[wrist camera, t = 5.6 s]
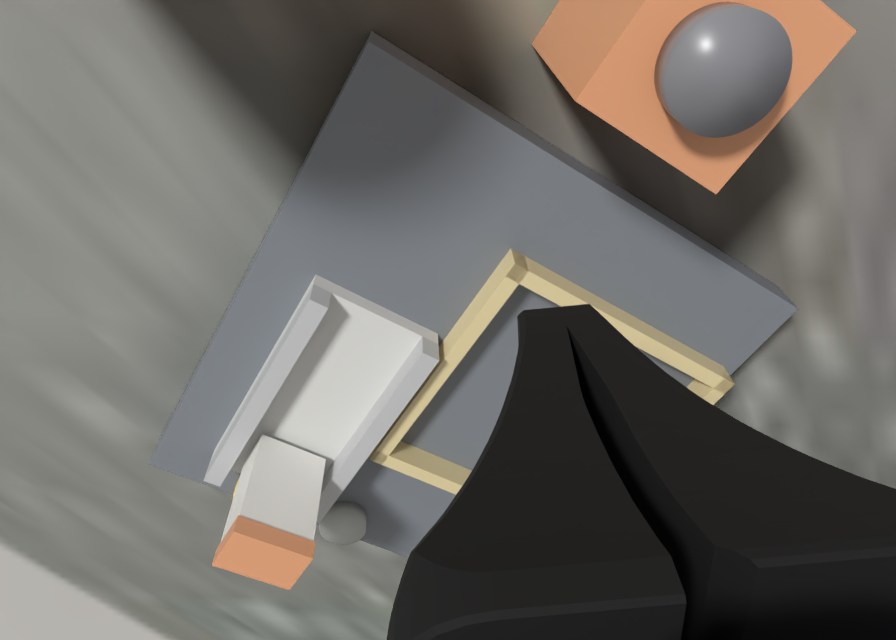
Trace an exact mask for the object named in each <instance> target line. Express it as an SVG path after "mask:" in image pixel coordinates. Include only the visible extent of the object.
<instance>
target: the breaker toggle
mask: <svg viewBox="0 0 896 640" xmlns="http://www.w3.org/2000/svg"><path fill="white" fill-rule="evenodd" d="M325 462H326V459H324V458H322V457H319V456H317V455H314V454H311V453H309V452H306V451H304V450H301V449H299V448H296V447H294V446H291V445H289V444H286V443H284V442H281V441H278V440H276V439H273V438H271V437H268V436H266V435H263V434H262V435H261V436H260V438H259V440H258V441H257V443H256V445H255V446H254V448H253V449H252V451H251V453H250V454H249V456H248V457H247V459H246V461H245V462H244V464H243V468H242V471H241V474H240V478H239V481H238V485H237V488H236V491H235V495H234V498H233V502H232V505H231V509H230V512H229V515H228V519H227V522H226V526H225V529H224V532H223V536H222V539H221V543H220V544H219V546H218V547H217V549H216V553H215V556H214V559H213V563H212V566H216V567H219V568H222V569H225V570H228V571H231V572H234V573H237V574H241V575H244V576H247V577H250V578H253V579H256V580H259V581H262V582H266V583H269V584H272V585H275V586H278V587H281V588H284V589H287V590H290V588H291V587H292V586H293V584H294V583H295V582H296V580H297V579H298V578H299V576H300V575H301V574H302V573H303V571H304V570H305V569H306V567H307V566H308V565H309V563H310V562H311V561H312V559H313V556H314V549H315V542H313V541H314V535H315V528H316V521H317V515H318V508H319V502H320V495H321V488H322V482H323V475H324V468H325Z"/></svg>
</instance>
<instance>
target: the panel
mask: <svg viewBox="0 0 896 640" xmlns="http://www.w3.org/2000/svg"><path fill="white" fill-rule="evenodd" d="M582 304H590V305H591V306H592V307H593V308H595V309H596V310H597V311H598V312H599V313H600V314H601V315H602V316H603V317H604V318H605V319H606V320H607V321H608V322H609V323H610V324H611V325H613V326H614V327H615V328H616V329H617V330H618V331H619V332H620V333H621V334H622V335H623V336H624V337H625V338H626V339H628V340H629V341H630V342H631V343H632V344H633V345H634V346H635V347H636V348H638V349H639V350H640V351H641V352H642V353H643V354H645V355H646V356H647V357H648V358H649V359H651V360H652V361H653V362H654V363H655V364H656V365H658V366H659V367H660V368H661V369H663V370H664V371H665V372H666V373H668V374H669V375H670V376H672V377H673V378H674V379H676V380H677V381H678V382H680V383H681V384H683V385H684V386H685V387H687V388H688V389H689V390H691V391H692V392H694V393H695V394H697V395H698V396H700V397H701V398H703V399H704V400H706V401H707V402H709V403H710V404H712V405H714V404H715V403H716V402H717V401H718V400H719V399H720V398H721V397H722V396H723V395H724V394H725V393H726V392H727V391H728V390H729V389H730V388H731V387H733V386H734V385H735V383H734V382H733V380H732V379H731V377H730V375H731V374H732V373H733V372H734V371H735V370H736V369H737V368H738V367H739V366H740V365H741V364H742V363H743V362H744V361H745V360H747V359H748V358H749V357H750V356H751V355H752V354H753V353H754V352H755V351H756V350H757V349H758V348H759V347H760V346H761V345H762V344H763V343H764V342H765V341H766V340H767V339H768V338H769V337H770V336H771V335H772V334H773V333H774V332H775V331H776V330H777V329H778V328H779V327H780V326H781V325H782V324H783V323H784V322H785V321H786V320H787V319H788V318H789V317H790V316H791V315H792V314H793V313H795V312H796V311H797V310H798V308H797V307H796V306H795V305H794V304H793V302H792V301H791V300H790V299H789V298H788V297H787V296H786V295H785V294H784V293H783V292H782V290H781V289H780V288H779V287H778V286H776V285H775V284H773V283H772V282H770V281H769V280H767V279H765V278H764V277H762V276H761V275H759V274H757V273H756V272H754V271H753V270H751V269H749V268H748V267H746V266H745V265H743V264H742V263H740V262H738V261H737V260H735V259H734V258H732V257H730V256H729V255H727V254H726V253H724V252H722V251H721V250H719V249H718V248H716V247H714V246H713V245H711V244H710V243H708V242H707V241H705V240H703V239H702V238H700V237H699V236H697V235H695V234H694V233H692V232H691V231H689V230H687V229H686V228H684V227H683V226H681V225H679V224H678V223H676V222H675V221H673V220H672V219H670V218H668V217H667V216H665V215H664V214H662V213H660V212H659V211H657V210H656V209H654V208H652V207H651V206H649V205H648V204H646V203H645V202H643V201H641V200H640V199H638V198H637V197H635V196H633V195H632V194H630V193H629V192H627V191H625V190H624V189H622V188H621V187H619V186H617V185H616V184H614V183H613V182H611V181H610V180H608V179H606V178H605V177H603V176H602V175H600V174H598V173H597V172H595V171H594V170H592V169H590V168H589V167H587V166H586V165H584V164H582V163H581V162H579V161H578V160H576V159H575V158H573V157H571V156H570V155H568V154H567V153H565V152H563V151H562V150H560V149H559V148H557V147H555V146H554V145H552V144H551V143H549V142H548V141H546V140H544V139H543V138H541V137H540V136H538V135H536V134H535V133H533V132H532V131H530V130H528V129H527V128H525V127H524V126H522V125H520V124H519V123H517V122H516V121H514V120H513V119H511V118H509V117H508V116H506V115H505V114H503V113H501V112H500V111H498V110H497V109H495V108H493V107H492V106H490V105H489V104H487V103H485V102H484V101H482V100H481V99H479V98H478V97H476V96H474V95H473V94H471V93H470V92H468V91H466V90H465V89H463V88H462V87H460V86H458V85H457V84H455V83H454V82H452V81H451V80H449V79H447V78H446V77H444V76H443V75H441V74H439V73H438V72H436V71H435V70H433V69H431V68H430V67H428V66H427V65H425V64H423V63H422V62H420V61H419V60H417V59H416V58H414V57H412V56H411V55H409V54H408V53H406V52H404V51H403V50H401V49H400V48H398V47H396V46H395V45H393V44H392V43H390V42H388V41H387V40H385V39H384V38H382V37H381V36H379V35H377V34H376V33H374V32H373V31H371V32H370V34H369V36H368V38H367V40H366V42H365V44H364V46H363V48H362V50H361V52H360V54H359V56H358V58H357V59H356V61H355V63H354V65H353V67H352V69H351V71H350V73H349V75H348V77H347V79H346V81H345V83H344V85H343V86H342V88H341V90H340V92H339V94H338V96H337V98H336V100H335V102H334V104H333V106H332V108H331V110H330V112H329V114H328V115H327V117H326V119H325V121H324V123H323V125H322V127H321V129H320V131H319V133H318V135H317V137H316V139H315V141H314V142H313V144H312V146H311V148H310V150H309V152H308V154H307V156H306V158H305V160H304V162H303V164H302V166H301V168H300V169H299V171H298V173H297V175H296V177H295V179H294V181H293V183H292V185H291V187H290V189H289V191H288V193H287V195H286V197H285V198H284V200H283V202H282V204H281V206H280V208H279V210H278V212H277V214H276V216H275V218H274V220H273V222H272V224H271V225H270V227H269V229H268V231H267V233H266V235H265V237H264V239H263V241H262V243H261V245H260V247H259V249H258V251H257V253H256V254H255V256H254V258H253V260H252V262H251V264H250V266H249V268H248V270H247V272H246V274H245V276H244V278H243V280H242V281H241V283H240V285H239V287H238V289H237V291H236V293H235V295H234V297H233V299H232V301H231V303H230V305H229V307H228V309H227V310H226V312H225V314H224V316H223V318H222V320H221V322H220V324H219V326H218V328H217V330H216V332H215V334H214V336H213V337H212V339H211V341H210V343H209V345H208V347H207V349H206V351H205V353H204V355H203V357H202V359H201V361H200V363H199V365H198V366H197V368H196V370H195V372H194V374H193V376H192V378H191V380H190V382H189V384H188V386H187V388H186V390H185V392H184V393H183V395H182V397H181V399H180V401H179V403H178V405H177V407H176V409H175V411H174V413H173V415H172V417H171V419H170V421H169V422H168V424H167V426H166V428H165V430H164V432H163V434H162V436H161V438H160V440H159V442H158V445H157V447H156V449H155V451H154V453H153V456H152V458H151V460H150V462H149V465H152V466H155V467H158V468H161V469H163V470H166V471H169V472H172V473H175V474H177V475H180V476H183V477H186V478H188V479H191V480H194V481H197V482H200V483H202V484H205V485H208V486H211V487H214V488H216V489H219V490H222V491H225V492H228V493H230V494H233V498H234V495H235V491H236V488H237V485H238V481H239V478H240V474H241V471H242V468H243V464H244V462H245V461H246V459H247V457H248V456H249V454H250V453H251V451H252V449H253V448H254V446H255V445H256V443H257V441H258V440H259V438H260V436H261V435H262V434H263V435H266V436H268V437H271V438H273V439H276V440H278V441H281V442H284V443H286V444H289V445H291V446H294V447H296V448H299V449H301V450H304V451H306V452H309V453H311V454H314V455H317V456H319V457H322V458H324V459H326V462H325V468H324V475H323V482H322V488H321V495H320V502H319V508H318V515H317V521H316V524H317V525H320V526H319V531H320V534H321V535H322V536H323V538H325V539H326V540H327V541H329V542H332V543H335V544H341V545H346V544H352V543H355V542H357V541H359V540H361V541H364V542H367V543H370V544H373V545H375V546H378V547H381V548H384V549H387V550H389V551H392V552H395V553H398V554H400V555H403V556H406V557H409V555H410V553H411V551H412V550H413V549H414V548H415V547H416V545H417V544H418V543H419V542H420V541H421V540H422V538H423V537H424V536H425V535H426V534H427V532H428V531H429V530H430V529H431V528H432V527H433V525H434V524H435V523H436V522H437V521H438V519H439V518H440V517H441V516H442V514H443V513H444V512H445V510H446V509H447V508H448V506H449V505H450V503H451V502H452V500H453V499H454V497H455V496H456V494H457V493H458V491H459V490H460V489H461V487H462V486H463V484H464V483H465V481H466V480H467V478H468V477H469V475H470V473H471V472H472V470H473V468H474V466H475V465H476V463H477V461H478V459H479V457H480V455H481V453H482V452H483V450H484V448H485V446H486V444H487V442H488V440H489V438H490V436H491V433H492V431H493V429H494V427H495V425H496V422H497V420H498V417H499V415H500V412H501V410H502V407H503V404H504V401H505V398H506V395H507V392H508V389H509V386H510V383H511V379H512V376H513V371H514V367H515V362H516V357H517V353H518V346H519V345H518V322H517V316H518V315H519V314H520V313H521V312H522V311H523V310H531V309H541V308H551V307H562V306H572V305H582Z"/></svg>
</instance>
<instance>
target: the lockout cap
mask: <svg viewBox="0 0 896 640" xmlns="http://www.w3.org/2000/svg"><path fill="white" fill-rule="evenodd" d="M855 33H856V30H855V29H854V28H852V27H851V26H850V25H849V24H848V23H847V22H845V21H844V20H843V19H842V18H841V17H839V16H838V15H837V14H836V13H835V12H834V11H832V10H831V9H830V8H829V7H828V6H826V5H825V4H824V3H823V2H822V1H820V0H560V1H559V2H558V4H557V5H556V7H555V9H554V10H553V12H552V13H551V15H550V16H549V18H548V20H547V21H546V23H545V24H544V26H543V27H542V29H541V31H540V32H539V34H538V35H537V37H536V38H535V40H534V42H533V43H532V46H533V47H534V48H535V49H536V51H537V52H538V53H539V55H540V56H541V57H542V59H543V60H544V61H545V63H546V64H547V65H548V66H549V68H550V69H551V70H552V72H553V73H554V74H555V76H556V77H557V78H558V79H559V81H560V82H561V83H562V85H563V86H564V87H565V89H566V90H567V91H568V92H569V94H570V95H571V96H572V98H573V99H574V100H575V101H576V102H577V103H579V104H580V105H582V106H583V107H585V108H586V109H588V110H589V111H591V112H592V113H594V114H595V115H597V116H598V117H600V118H601V119H603V120H604V121H606V122H607V123H609V124H610V125H612V126H613V127H615V128H616V129H618V130H619V131H621V132H622V133H624V134H625V135H627V136H628V137H630V138H631V139H633V140H635V141H636V142H638V143H639V144H641V145H642V146H644V147H645V148H647V149H648V150H650V151H651V152H653V153H654V154H656V155H657V156H659V157H660V158H662V159H663V160H665V161H666V162H668V163H669V164H671V165H672V166H674V167H675V168H677V169H678V170H680V171H681V172H683V173H684V174H686V175H687V176H689V177H690V178H692V179H693V180H695V181H696V182H698V183H699V184H701V185H702V186H704V187H705V188H707V189H709V190H710V191H712V192H713V193H715V194H717V193H718V192H719V191H720V189H721V188H722V187H723V186H724V185H725V184H726V182H727V181H728V180H729V179H730V178H731V177H732V175H733V174H734V173H735V172H736V171H737V170H738V168H739V167H740V166H741V165H742V164H743V163H744V161H745V160H746V159H747V158H748V157H749V156H750V155H751V153H752V152H753V151H754V150H755V149H756V148H757V146H758V145H759V144H760V143H761V142H762V141H763V139H764V138H765V137H766V136H767V135H768V134H769V132H770V131H771V130H772V129H773V128H774V127H775V125H776V124H777V123H778V122H779V121H780V120H781V119H782V117H783V116H784V115H785V114H786V113H787V112H788V110H789V109H790V108H791V107H792V106H793V105H794V103H795V102H796V101H797V100H798V99H799V98H800V96H801V95H802V94H803V93H804V92H805V91H806V89H807V88H808V87H809V86H810V85H811V84H812V82H813V81H814V80H815V79H816V78H817V77H818V76H819V74H820V73H821V72H822V71H823V70H824V69H825V67H826V66H827V65H828V64H829V63H830V62H831V60H832V59H833V58H834V57H835V56H836V55H837V53H838V52H839V51H840V50H841V49H842V48H843V46H844V45H845V44H846V43H847V42H848V41H849V40H850V38H851V37H852V36H853V35H854V34H855Z"/></svg>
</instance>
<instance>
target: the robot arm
mask: <svg viewBox="0 0 896 640" xmlns="http://www.w3.org/2000/svg"><path fill="white" fill-rule="evenodd" d="M517 322H518V345H519V346H518V353H517V357H516V362H515V367H514V371H513V376H512V379H511V383H510V386H509V389H508V392H507V395H506V398H505V401H504V404H503V407H502V410H501V412H500V415H499V417H498V420H497V422H496V425H495V427H494V429H493V431H492V433H491V436H490V438H489V440H488V442H487V444H486V446H485V448H484V450H483V452H482V453H481V455H480V457H479V459H478V461H477V463H476V465H475V466H474V468H473V470H472V472H471V473H470V475H469V477H468V478H467V480H466V481H465V483H464V484H463V486H462V487H461V489H460V490H459V491H458V493H457V494H456V496H455V497H454V499H453V500H452V502H451V503H450V505H449V506H448V508H447V509H446V510H445V512H444V513H443V514H442V516H441V517H440V518H439V519H438V521H437V522H436V523H435V524H434V525H433V527H432V528H431V529H430V530H429V531H428V532H427V534H426V535H425V536H424V537H423V538H422V540H421V541H420V542H419V543H418V544H417V545H416V547H415V548H414V549H413V550H412V551H411V553H410V555H409V558H408V561H407V564H406V567H405V570H404V572H403V575H402V578H401V581H400V584H399V588H398V591H397V594H396V598H395V601H394V605H393V609H392V613H391V618H390V623H389V629H388V635H387V640H896V489H894V488H891V487H888V486H885V485H882V484H879V483H876V482H873V481H870V480H867V479H864V478H862V477H859V476H856V475H854V474H851V473H849V472H846V471H844V470H841V469H839V468H837V467H834V466H832V465H829V464H827V463H824V462H822V461H819V460H817V459H815V458H812V457H810V456H808V455H806V454H804V453H801V452H799V451H797V450H795V449H793V448H790V447H788V446H786V445H784V444H782V443H780V442H778V441H776V440H774V439H772V438H770V437H768V436H766V435H764V434H763V433H761V432H759V431H757V430H755V429H753V428H751V427H749V426H747V425H746V424H744V423H742V422H740V421H738V420H737V419H735V418H733V417H732V416H730V415H728V414H727V413H725V412H723V411H722V410H720V409H719V408H717V407H715V406H714V405H712V404H710V403H709V402H707V401H706V400H704V399H703V398H701V397H700V396H698V395H697V394H695V393H694V392H692V391H691V390H689V389H688V388H687V387H685V386H684V385H683V384H681V383H680V382H678V381H677V380H676V379H674V378H673V377H672V376H670V375H669V374H668V373H666V372H665V371H664V370H663V369H661V368H660V367H659V366H658V365H656V364H655V363H654V362H653V361H652V360H651V359H649V358H648V357H647V356H646V355H645V354H643V353H642V352H641V351H640V350H639V349H638V348H636V347H635V346H634V345H633V344H632V343H631V342H630V341H629V340H628V339H626V338H625V337H624V336H623V335H622V334H621V333H620V332H619V331H618V330H617V329H616V328H615V327H614V326H613V325H611V324H610V323H609V322H608V321H607V320H606V319H605V318H604V317H603V316H602V315H601V314H600V313H599V312H598V311H597V310H596V309H595V308H593V307H592V306H591V305H590V304H582V305H572V306H562V307H551V308H541V309H531V310H523V311H522V312H521V313H520V314H519V315H518V316H517Z"/></svg>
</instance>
